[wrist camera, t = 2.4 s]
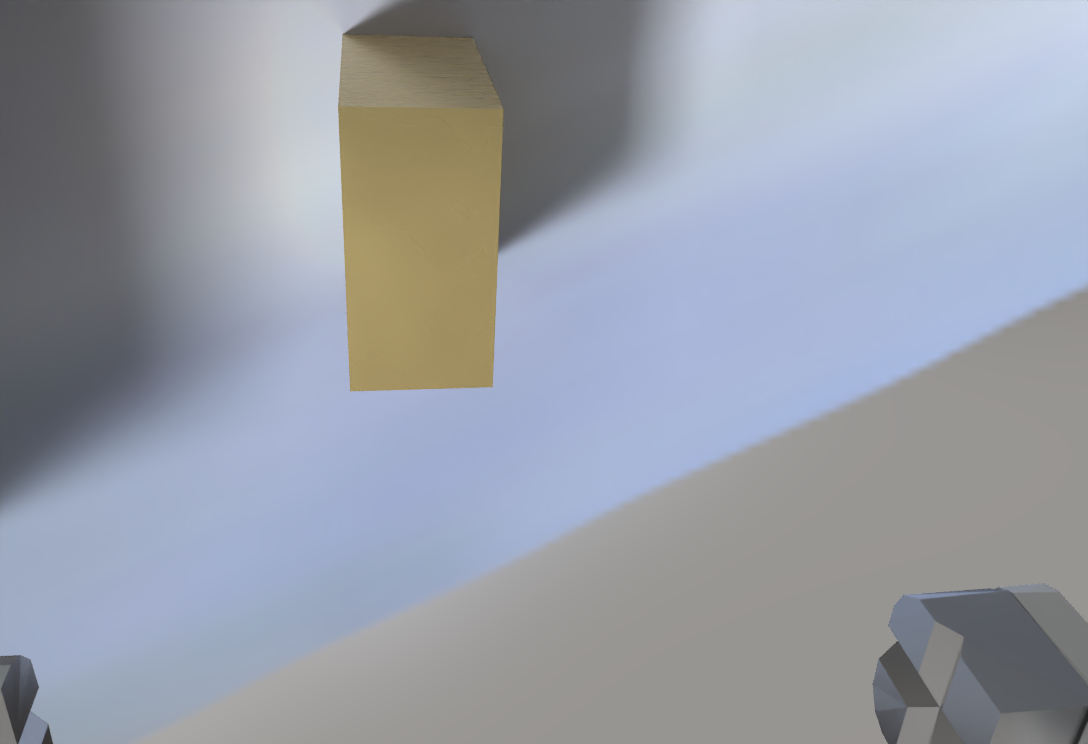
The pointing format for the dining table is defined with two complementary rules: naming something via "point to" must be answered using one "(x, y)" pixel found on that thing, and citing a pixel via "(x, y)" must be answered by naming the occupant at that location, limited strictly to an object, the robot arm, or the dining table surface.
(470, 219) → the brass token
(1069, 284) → the dining table surface
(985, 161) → the dining table surface
